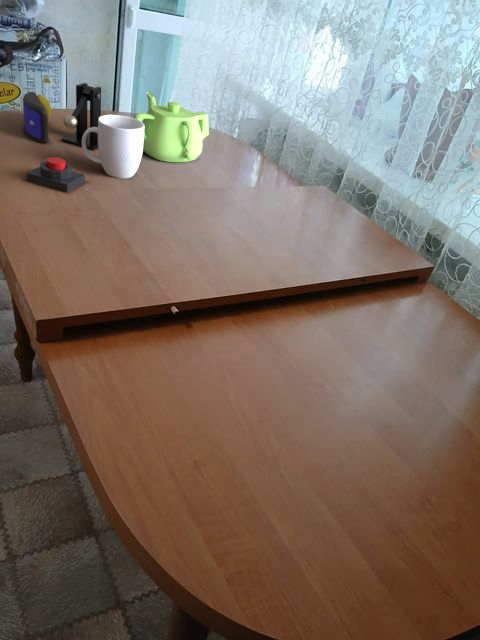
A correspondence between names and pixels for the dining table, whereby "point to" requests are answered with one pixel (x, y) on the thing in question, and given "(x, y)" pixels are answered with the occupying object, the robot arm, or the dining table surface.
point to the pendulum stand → (82, 118)
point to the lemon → (45, 105)
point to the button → (56, 163)
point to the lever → (78, 109)
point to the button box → (56, 177)
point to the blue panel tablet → (35, 118)
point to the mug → (117, 144)
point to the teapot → (172, 131)
